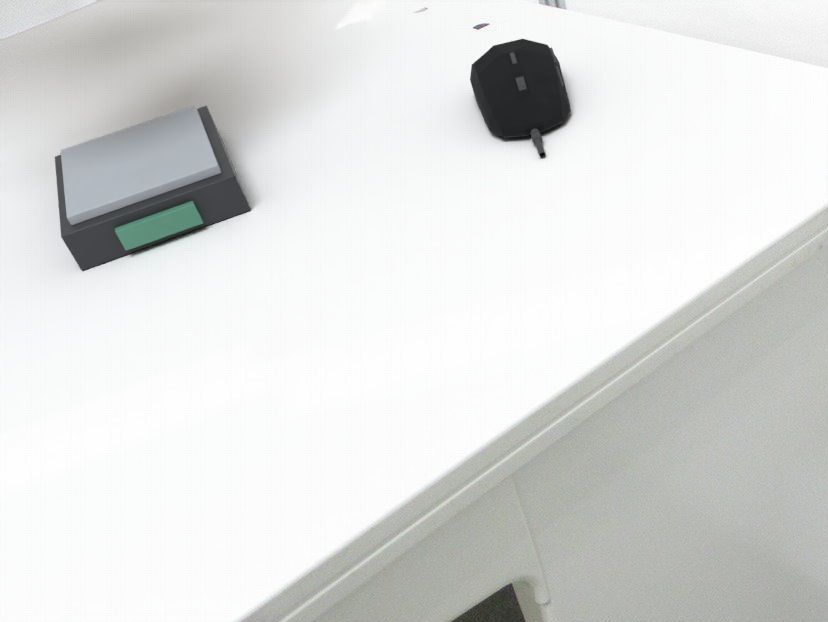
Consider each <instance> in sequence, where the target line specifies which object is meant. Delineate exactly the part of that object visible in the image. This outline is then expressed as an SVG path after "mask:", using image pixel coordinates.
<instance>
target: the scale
mask: <svg viewBox="0 0 828 622" xmlns="http://www.w3.org/2000/svg"><path fill="white" fill-rule="evenodd" d="M54 165H55V179H56V191H57V203H58V204H57V205H58V214H59V227H60V237H61V239H62V241H63V243H64V245H65V246H66V248H67V249H68V251H69V252H70V254H71V256H72V257H73V259H74V261H75V262H76V264H77V266H78V267H79V269H80V271H83V272H84V271H85V270H87V269H91V268H94V267H96V266H99V265H102V264H104V263H107V262H110V261H113V260H117V259H119V258H121V257H124V256H128V255H130V254H133V253H135V252H138V251H141V250H144V249H146V248H147V249H148V248H149V247H152V246H155V245H158V244H160V243H163V242H165V241H169V240H172V239H174V238H177V237H180V236H183V235H186V234H188V233H191V232H194V231H197V230H199V229H203V228H205V227H208V226H211V225H213V224H216V223H218V222H222V221H224V220H227V219H229V218H233V217H236V216H238V215H241V214H244V213H247V212H249V211H251V209H252V208H251V206H250V204H249V201H248V199H247V197H246V194H245V192H244V189H243V187H242V185H241V182H240V180H239V176H238V175H237V172H236V170H235V168H234V164H233V162H232V159H231V158H230V155H229V152H228V149H227V148H226V145H225V143H224V141H223V137H222V136H221V134H220V132H219V130H218V127H217V125H216V123H215V120H214V119H213V115H212V113H211V112H210V110H209V108H208V106H207V105H204V106H202V107H198V108H197V106H196V105H195V104H194V105H192V106H188V107H185V108H182V109H179V110H177V111H173V112H170V113H167V114H165V115H162V116H158V117H156V118H152V119H150V120H147V121H143V122H141V123H138V124H135V125H131V126H129V127H126V128H123V129H120V130H117V131H114V132H111V133H108V134H105V135H102V136H100V137H95V138H93V139H90V140H87V141H84V142H80V143H78V144H75V145H72V146H69V147H66V148H63V149H61V150H60V154H58V155H55V156H54Z"/></svg>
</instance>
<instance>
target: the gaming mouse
mask: <svg viewBox="0 0 828 622" xmlns="http://www.w3.org/2000/svg"><path fill="white" fill-rule="evenodd" d="M470 68H471V69H470V76H469V77H470V78H469V81H470V85H471V88H472V91H473V95H474V99H475V102H476V104H477V106H478V108H479V110H480V113H481V116H482V118H483V121H484V123H485V125H486V127H487V129H488V130H489V132H490V133H492V134H493V135H496V136H499V137H502V138H504V139H507V138H519V137H527V136H531V141H532V143H533V144H534V146H535V147H536V150H537V153H538V157H540V158H541V159H544V158H546V154H547V153H546V151H545V149H544V146H543V137H542V135H541V133H542V132H546V131H548V130H550V129H552V128H554V127H556V126H558V125H561V124H562V123H564V122H565V120H566V119H567V118H568V116H569V114H570V113H571V111H572V110H571V109H572V108H571V104H570V99H569V95H568V92H567V87H566V82H565V80H564V75H563V71H562V68H561V63H560V61H559V59H558V57H557V56H556V54H555V51H554V49H553V47H550V46H549V45H548V44H546V43H542V42H538V41H534V40H530V39H526V38H519V39H516V40H510V41H506V42H503V43H499V44H495V45H492V46H491V47H490V48H489V49H488V50H487V51H486V52H484V53H483V54H482V55H481V56H480V57H478V59H476V60H475V61H473V63H471V67H470Z"/></svg>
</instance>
